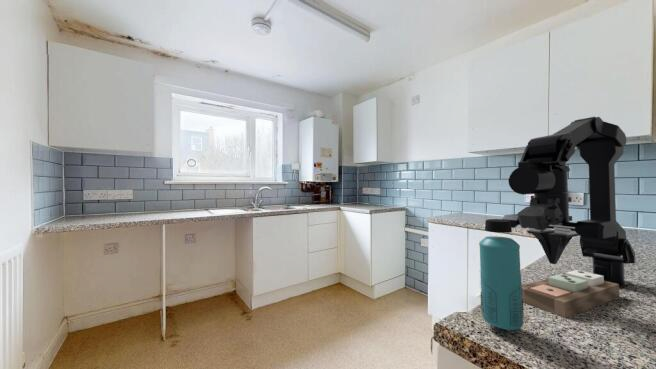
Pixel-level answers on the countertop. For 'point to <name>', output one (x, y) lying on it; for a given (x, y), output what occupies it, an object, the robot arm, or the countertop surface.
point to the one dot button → (550, 291)
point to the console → (570, 298)
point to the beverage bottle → (501, 278)
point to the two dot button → (587, 277)
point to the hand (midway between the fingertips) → (553, 263)
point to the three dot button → (568, 282)
